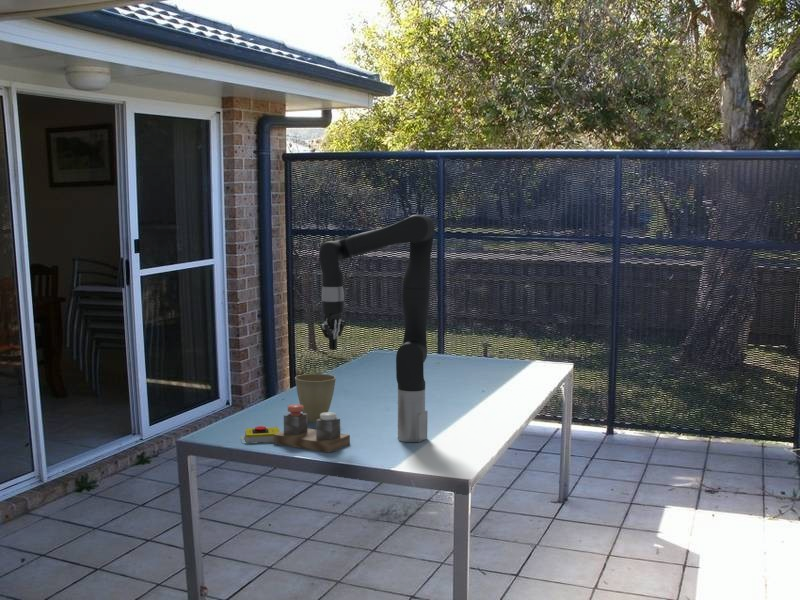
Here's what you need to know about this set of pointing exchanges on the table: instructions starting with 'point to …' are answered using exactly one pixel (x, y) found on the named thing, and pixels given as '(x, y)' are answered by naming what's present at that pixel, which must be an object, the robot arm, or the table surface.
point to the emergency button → (260, 434)
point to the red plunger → (295, 409)
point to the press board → (311, 434)
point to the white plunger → (328, 416)
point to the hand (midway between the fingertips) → (333, 349)
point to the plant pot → (315, 394)
